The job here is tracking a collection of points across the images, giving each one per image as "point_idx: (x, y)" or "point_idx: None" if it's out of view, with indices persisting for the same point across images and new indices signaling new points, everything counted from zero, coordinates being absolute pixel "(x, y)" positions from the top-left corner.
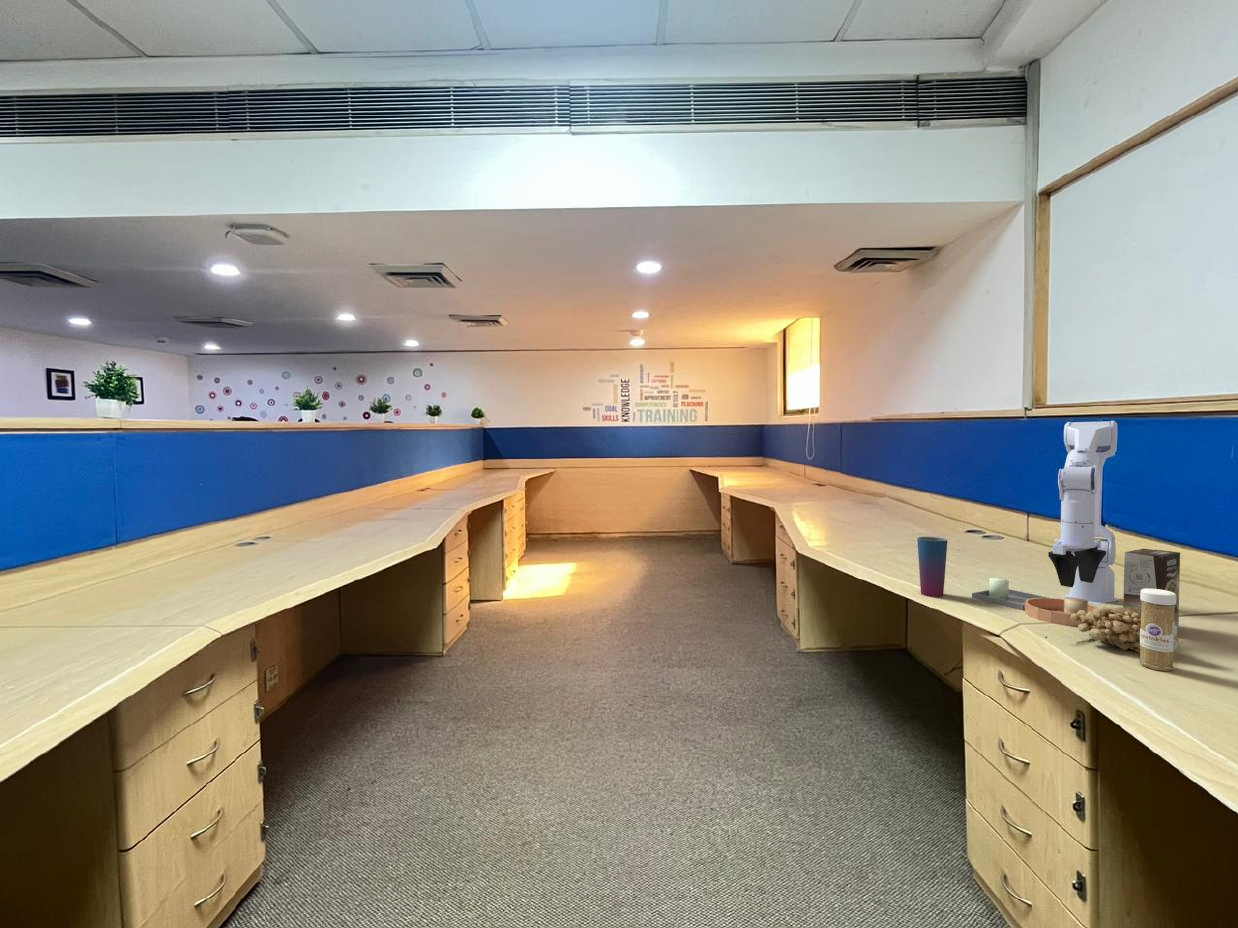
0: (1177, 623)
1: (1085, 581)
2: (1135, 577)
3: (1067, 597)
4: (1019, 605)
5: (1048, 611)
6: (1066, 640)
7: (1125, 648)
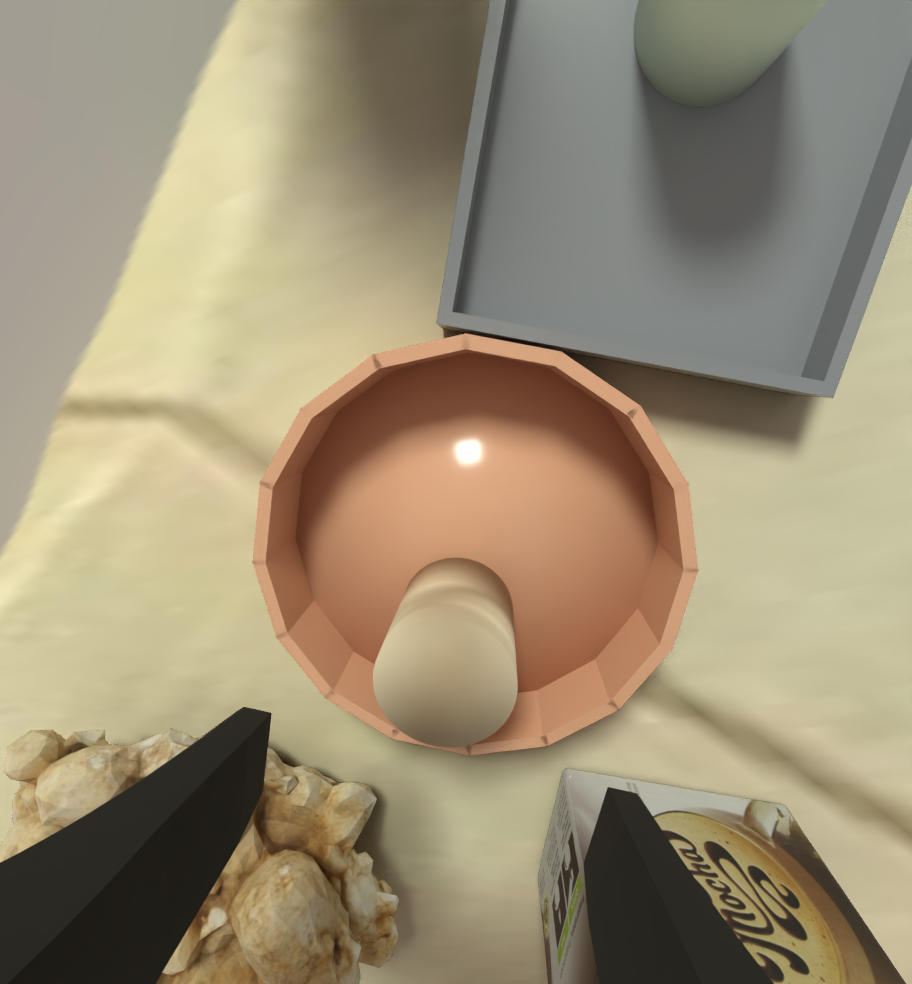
0: None
1: (599, 826)
2: None
3: (460, 631)
4: (443, 297)
5: (255, 546)
6: (103, 648)
7: None
